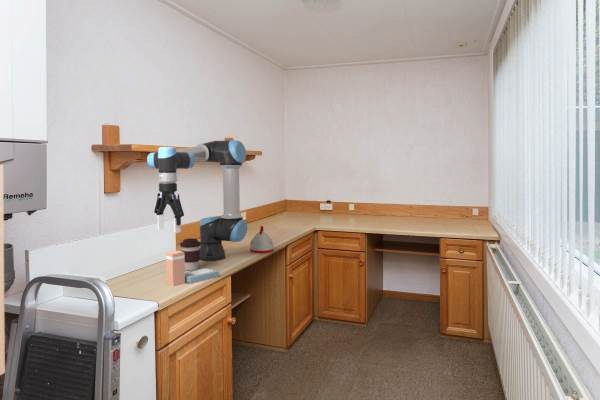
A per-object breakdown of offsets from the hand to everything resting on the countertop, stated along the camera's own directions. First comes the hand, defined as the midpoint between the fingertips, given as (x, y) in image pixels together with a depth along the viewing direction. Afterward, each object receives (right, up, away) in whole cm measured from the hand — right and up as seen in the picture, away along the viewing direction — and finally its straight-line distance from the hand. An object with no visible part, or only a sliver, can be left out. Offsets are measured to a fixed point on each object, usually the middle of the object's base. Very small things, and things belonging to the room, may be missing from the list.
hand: (169, 231), depth 195 cm
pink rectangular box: (+3, -23, +2) cm, 24 cm away
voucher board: (+10, -23, +11) cm, 27 cm away
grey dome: (+34, -17, +72) cm, 81 cm away
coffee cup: (+3, -21, +28) cm, 35 cm away
